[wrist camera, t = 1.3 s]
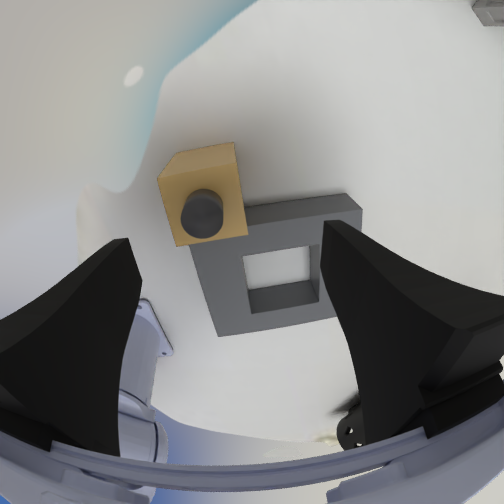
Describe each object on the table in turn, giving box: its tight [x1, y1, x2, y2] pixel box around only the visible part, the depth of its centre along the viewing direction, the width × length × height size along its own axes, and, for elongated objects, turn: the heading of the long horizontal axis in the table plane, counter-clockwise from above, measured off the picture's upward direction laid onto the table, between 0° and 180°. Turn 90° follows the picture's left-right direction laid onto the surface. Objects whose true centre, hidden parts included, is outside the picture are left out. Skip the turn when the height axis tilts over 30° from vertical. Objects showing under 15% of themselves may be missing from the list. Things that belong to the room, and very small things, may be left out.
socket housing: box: [189, 194, 363, 337], centre depth 22 cm, size 12×10×3 cm
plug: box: [157, 142, 248, 247], centre depth 16 cm, size 4×4×8 cm
